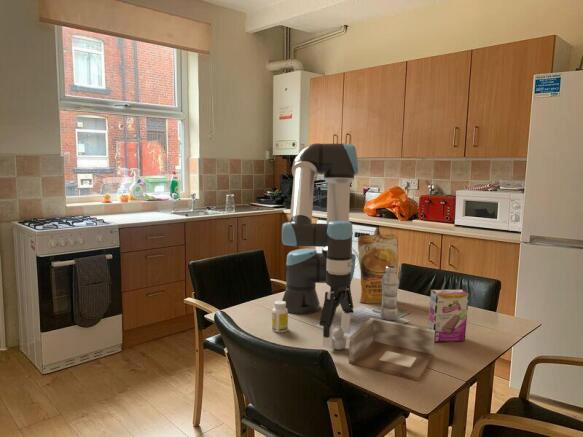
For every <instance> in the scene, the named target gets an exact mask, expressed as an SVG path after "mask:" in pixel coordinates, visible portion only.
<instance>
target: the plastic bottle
mask: <svg viewBox="0 0 583 437" xmlns="http://www.w3.org/2000/svg"><path fill="white" fill-rule="evenodd" d="M385 271H386V273H385V274H384V276H383V277H382V280H381V283H382V294H383V295H382V303H381V304H380V305H381V306H380V310H379V313H380V314H379V316H380V317H381V320H385V321H390V322H394V321H396V320H397V319H398V315H399V308H398V293H399V292H398V291H399V286H400V279H399V277H398V274H397V275H396V274H395V272H396V267H395V266H386V270H385Z"/></svg>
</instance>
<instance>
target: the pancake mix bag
mask: <svg viewBox="0 0 583 437" xmlns="http://www.w3.org/2000/svg"><path fill="white" fill-rule="evenodd" d="M398 242H399V241H398V236H396V234H366V235H360V236H358V237H357V250H358V251H357V252H358V261H359V264H358V265H359V270H360V286H361V287H360V288H361V292H360V293H361V296H360V300H359V303H363V304H382V295H383V294H382V283H381V280H382V277H383V276H384V274H385V273H386V271H385V270H386V266H395V267H396V272H395V274H396V275H397V276H398V274H399V273H398V272H399V271H398V270H399V246H398V245H399V243H398Z"/></svg>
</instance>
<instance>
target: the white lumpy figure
mask: <svg viewBox="0 0 583 437" xmlns="http://www.w3.org/2000/svg"><path fill="white" fill-rule="evenodd" d="M344 336H345V333H344V332H343V330H342V329H341V323H340V324H338V325H337V326H335V328H334V329H333V333H332V348H333V349H335V350H336V351H340V350H344V349H345V348H346V346H347V339H346V338H345V337H344Z"/></svg>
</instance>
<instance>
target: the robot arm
mask: <svg viewBox="0 0 583 437" xmlns="http://www.w3.org/2000/svg"><path fill="white" fill-rule="evenodd" d="M291 174H292V176H293V182H292V192H291V193H292V194H291V201H290V202H291V203H290V213H289V221H287V222H284V223H282V225H281V226H282V227H281V242H282V244H283V245H284V246H291V247H306V248H299V249H295V250H291V251H289V252H288V254H287V255H286V263H285V265H286V274H285V275H286V277H285V278H286V283H285V290H284V295H283V297H282V300H281V301H285V302H286V307H285V308H287V309H288V313H290V314H298V315H300V314H301V315H302V314H303V315H305V314H313V313H316V312H318V311H319V310H320V309H321V308H320V304H321V303H320V299H319V295H318V294H317V292H318V291H317V288H316V287H317V286H316V284H326V285H327V286H329V287H330V290H329V291H325V294H324V301H323V306H322V310H321V316H320V319H319V326H320V327H321V326H322V327H323V328H322V347H323V348H327V349H332V348H333V347H332V336H333V331H334V329H333V328H334V326H333V325H332V323H333V321H334V317H335V314H336V311H337V309H338V307H339V306H341V309H342V312H341V320H340V322H341V323H340V328H341V329H342V330H343V332H344V334H348V335H349V334H350V333H351V314H353V313H354V303H353V297H352V296H353V295H352V290H351V284H352V281H353V277H354V272H355V268H356V258H357V256H356V254H354V253H353V249H352V248H353V247H352V246H353V234H354V232H353V223H352V222H350V198H351V196H350V194H351V191H350V190H351V186H350V185H351V183H352V182H353V181H354V180H355V176H357V175H358V174H359V162H358V154H357V149H356V147H355V145H353V144H351V143H312V144H309V145H307V146H306V147H304V148H303V149H302V150H300V152H298V153H297V155H296V156H295V157H294V159H293V161H292V165H291ZM317 174H319V175H323V179H324V181H325V182H326V183H327V193H326V194H327V198H326V199H327V200H326V223H315V222H314V223H313V206H314V188H315V186H314V185H315V178H316V177H317ZM307 247H309V248H307ZM311 247H320V248H321V249H322V250H321V252H318V251H317V249H315V248H311Z"/></svg>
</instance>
